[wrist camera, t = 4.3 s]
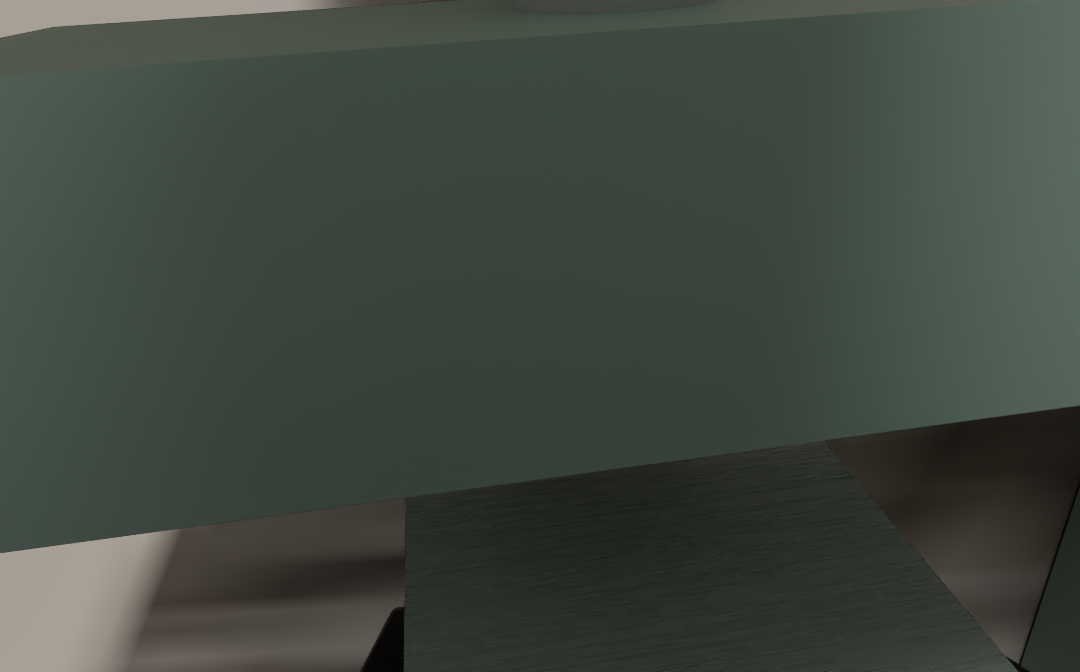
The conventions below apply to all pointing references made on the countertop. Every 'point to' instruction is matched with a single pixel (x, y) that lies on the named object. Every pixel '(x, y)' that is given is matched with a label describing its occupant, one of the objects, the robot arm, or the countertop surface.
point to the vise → (523, 248)
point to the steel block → (679, 575)
